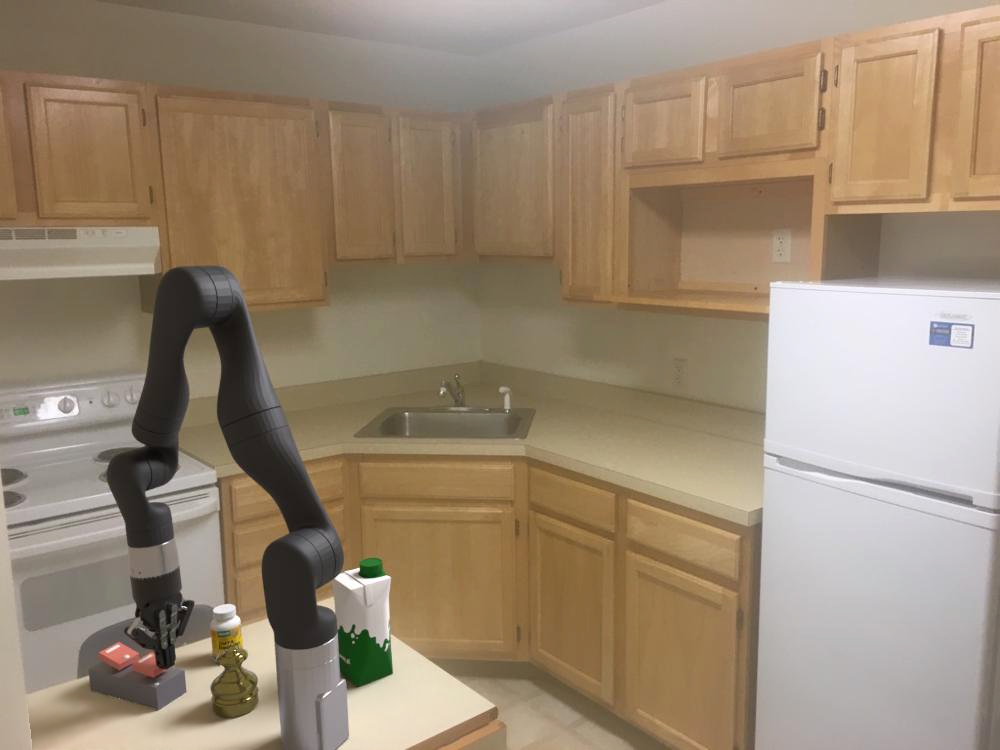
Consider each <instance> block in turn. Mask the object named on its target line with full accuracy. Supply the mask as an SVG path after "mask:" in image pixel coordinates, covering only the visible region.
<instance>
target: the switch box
mask: <svg viewBox="0 0 1000 750" xmlns="http://www.w3.org/2000/svg"><path fill="white" fill-rule="evenodd" d="M140 658H141V657H139V659H140ZM87 670H88V678H89V686H90V687H89V689H90V691H92V692H95V693H99V694H102V695H105V696H109V697H111V696H112V698H115V697H116V698H115V699H118V698H120V699H119V700H121V699H123V700H122V701H125V700H126V701H125V702H128V701H129V703H131V704H136V705H138V704H139V705H138V706H142V707H145V706H146V708H148V707H149V709H153V710H156V711H160V710H162V708H163V709H164V707H166V706H168V705H170V703H173V701H176V700H177V699H179V697H181V696H183V695H184V694H185V693H187V691H188V690H187V682H186V671H185V669H182V668H177V667H175V666H172V667H171V668H169V669H167V670H166V671H164V672H162V673H161V674H159V675H158V676H156V677H154V678H153V677H151V676H147V677H145V676H144V674H142V673H139V672H137V671H134V670H132V664H130V665H128V666H126V667H125V668H123V669H121V670H118V669H116V668H114V667H110V666H109V664H107V663H106V662H104V661H102V660H101V661H100V662H98V663H97V664H94V665H93V666H91V667H89V668H88V669H87Z"/></svg>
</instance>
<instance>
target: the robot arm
mask: <svg viewBox="0 0 1000 750" xmlns="http://www.w3.org/2000/svg"><path fill="white" fill-rule="evenodd" d="M250 314H251V313H250V311H249V308H248V304H247V299H246V297H245V295H244V291H243V288H242V286H241V284H240V282H239V280H238V278H237V277H236V276H235V274H234V273H233V272H232V271H231V270H229V269H228V268H226V267H224V266H220V265H182V266H176V267H173V268H170V269H169V270H168V271H166V272H165V273H164V274H163V276H162V277H161V279H160V280H159V284H158V286H157V290H156V293H155V299H154V307H153V315H152V321H151V322H152V323H151V329H150V331H151V332H150V340H149V350H148V360H147V368H146V373H145V378H144V383H143V386H142V391H141V394H140V397H139V399H138V404H137V407H136V410H135V414H134V416H133V419H132V423H131V435H132V436H133V438H134V439H135V440H136V441H137V442H139V443H140V444H143V445H144V446H141V447H138V448H134V449H131V450H127V451H123V452H120V453H118V454H116V455H115V456H113V457H112V458H111V459H110V461H109V462H108V466H107V469H106V481H107V485H108V487H109V489H110V492H111V494H112V497H113V498H114V501H115V503H116V505H117V507H118V510H119V512H120V514H121V516H122V518H123V521H124V525H125V526H124V528H125V534H126V535H125V536H126V543H127V563H128V565H127V566H128V573H129V579H130V580H129V581H130V585H131V586H130V587H131V595H132V599H133V601H134V602H135V606H136V607H135V612H134V616H135V619H134V621H133V622H132V624H131V626H126V627H125V628H124V630H123V633H124V634H125V635H126V636H127V637H128V638H130V639H131V640H132V641H133V642H135V643H136V644H137V645H138V646H140V647H141V648H143V649H146V650H150V651H154V652H153V653H155V660H156V665H157V667H159V668H160V669H165V670H167V669H169V668H170V667H175V664H176V663H175V661H176V659H177V654H176V648H175V647H176V645H175V643H176V642H177V639H178V637H182V636H183V635H184V633H185V631H186V628H187V625H188V624H189V623H188V622H189V621H190V617H191V615H192V611H193V609H194V606H195V600H191V599H187V598H183V593H182V592H181V591H182V590H183V583H182V576H181V567H180V561H179V560H180V559H179V552H178V551H179V550H178V547H177V544H176V539H175V532H174V525H173V524H174V523H173V516H172V511H171V507H170V506H169V504H167V503H165V502H160V501H152V502H150V501H149V500H148V497H147V495H146V492H147V491H151V490H154V489H156V488H160V487H163V486H165V485H167V484H168V483H170V481H171V480H172V479H173V478H174V477H175V475H176V473H177V471H178V469H179V460H180V458H179V453H180V452H179V450H180V449H179V448H180V446H179V445H180V444H179V443H180V441H179V440H180V439H179V436H180V435H179V434H180V431H181V428H182V425H183V422H184V420H185V416H186V413H187V410H188V408H189V403H190V395H191V394H190V393H191V392H190V385H189V380H188V376H187V373H186V369H185V368H186V367H185V364H184V363H185V362H184V361H185V360H184V357H185V351H186V347H187V344H188V342H189V340H190V337H191V336H192V334H193V332H194V330H195V329H196V330H197V329H206V328H208V330H209V331H210V333H211V335H212V338H213V340H214V343H215V346H216V349H217V352H218V356H219V360H220V376H219V377H220V379H219V385H218V392H217V398H216V399H217V401H216V417H217V421H218V424H219V428H220V430H221V434H222V435H223V438H224V441H225V443H226V446H227V448H228V450H229V453H230V455H231V457H232V459H233V461H234V462H235V463H236V465H238V467H239V468H240V469H241V470H242V471H243V472H244V473H245V474H246V475H247V476H248V477H249V478H251V480H253V481H254V482H255V483H256V484H257V485H258V486H259V487H261V489H263V490H264V491H265V492H266V493H267V494H269V496H270V497H271V498H272V499H273V501H274V502H275V503H276V505H277V508H278V509H279V510H280V513H281V515H282V517H283V520H284V522H285V525H286V527H287V530H288V532H289V533H287V534H284V535H283V536H281V537H279V538H276V539H274V540H273V541H271V542H270V543H269V544H268V545H267V547H266V548H265V550H264V552H263V555H262V559H261V580H262V586H263V587H262V588H263V595H264V601H265V603H264V604H265V611H266V616H267V620H268V622H269V625H270V627H271V629H272V632H273V640H274V655H275V668H276V669H275V670H276V682H277V683H276V684H277V686H276V687H277V697H278V711H279V714H278V715H279V725H280V736H281V737H280V738H281V739H280V740H281V749H282V750H336V749H338V748H339V747H340V746H341V745H342V744H343V743H344V742H345V741H346V740H347V739H348V738H350V728H349V727H350V726H349V725H350V724H349V711H348V709H349V708H348V691H347V681H346V679H345V678H342V677H341V672H340V664H339V647H338V627H337V617H336V614H335V610H333V609H332V608H329V607H327V606H323V605H319V604H318V602H317V594H316V593H317V590H318V589H321V588H322V587H323V586H325V585H327V584H328V583H330V582H332V580H333V579H334V578H336V577H337V576H338V575H339V574H341V573H342V570H343V568H344V563H345V555H344V554H345V553H344V547H343V545H342V541H341V539H340V537H339V534H338V531H337V530H336V527H335V525H334V524H333V522H332V519H331V518H330V516H329V514H328V512H327V511H326V509H325V507H324V505H323V503H322V501H321V499H320V497H319V494H318V493H317V492H316V490H315V487H314V485H313V483H312V480H311V478H310V476H309V474H308V471H307V468H306V466H305V463H304V461H303V459H302V456H301V454H300V452H299V450H298V447H297V445H296V442H295V440H294V439H295V438H294V436H293V434H292V430H291V427H290V425H289V422H288V420H287V417H286V414H285V412H284V409H283V407H282V405H281V402H280V400H279V398H278V396H277V393H276V391H275V388H274V386H273V383H272V381H271V377H270V374H269V372H268V369H267V366H266V363H265V361H264V357H263V355H262V352H261V349H260V347H259V346H260V345H259V343H258V339H257V336H256V332H255V329H254V325H253V322H252V318H251V315H250Z"/></svg>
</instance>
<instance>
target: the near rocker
mask: <svg viewBox="0 0 1000 750" xmlns="http://www.w3.org/2000/svg"><path fill="white" fill-rule="evenodd" d="M139 658H140V659H138V660H137V661H135V662H133V663H132V670H134V671H137V672H139V673H142V674H144V676H145V677H147V676H151V677H153V678H154V677H156V676H158V675H159V674H161V673H162V672H164V671H166V670H165V669H160V668H159V667H157V665H156V660H155V652H149V653H147V654H146V655H143V656H142V657H139ZM170 668H171V667H170Z"/></svg>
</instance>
